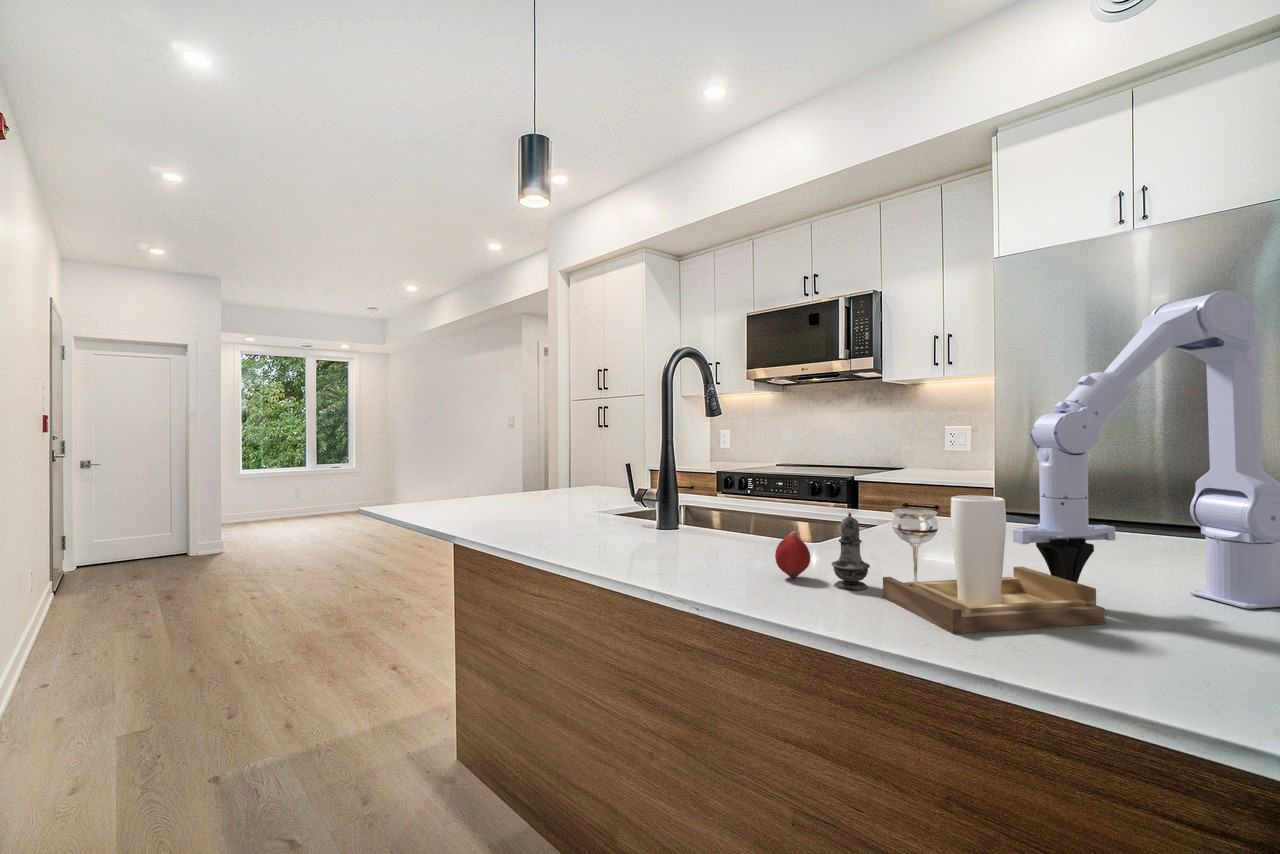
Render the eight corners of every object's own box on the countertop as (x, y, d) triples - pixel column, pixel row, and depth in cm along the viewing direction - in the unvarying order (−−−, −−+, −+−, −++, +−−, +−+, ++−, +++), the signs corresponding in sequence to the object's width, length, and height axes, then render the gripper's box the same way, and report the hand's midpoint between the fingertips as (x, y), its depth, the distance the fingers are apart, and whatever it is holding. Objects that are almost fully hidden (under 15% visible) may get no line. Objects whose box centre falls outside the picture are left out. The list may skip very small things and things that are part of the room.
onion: (776, 581, 103) (775, 534, 103) (774, 573, 109) (773, 528, 109) (812, 582, 102) (811, 534, 102) (808, 574, 108) (807, 528, 108)
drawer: (1022, 592, 94) (1022, 566, 94) (1096, 618, 81) (1096, 588, 81) (912, 599, 92) (912, 572, 92) (970, 627, 79) (970, 596, 79)
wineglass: (898, 579, 104) (897, 507, 104) (942, 584, 100) (941, 510, 100) (888, 588, 98) (886, 512, 98) (934, 594, 94) (933, 515, 94)
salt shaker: (871, 583, 101) (870, 510, 101) (868, 592, 96) (867, 515, 96) (834, 580, 103) (833, 509, 103) (829, 589, 98) (828, 513, 98)
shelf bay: (1011, 589, 96) (1010, 570, 96) (1104, 623, 80) (1104, 600, 80) (883, 597, 93) (882, 577, 93) (952, 633, 77) (952, 609, 77)
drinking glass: (1015, 613, 82) (1014, 501, 82) (960, 611, 84) (959, 500, 83) (996, 599, 89) (994, 495, 89) (945, 597, 90) (944, 495, 90)
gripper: (1085, 492, 93) (1086, 582, 93) (997, 495, 91) (998, 587, 91) (1128, 497, 86) (1129, 595, 86) (1033, 501, 84) (1035, 600, 84)
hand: (1064, 592), depth 88 cm, fingers closed
